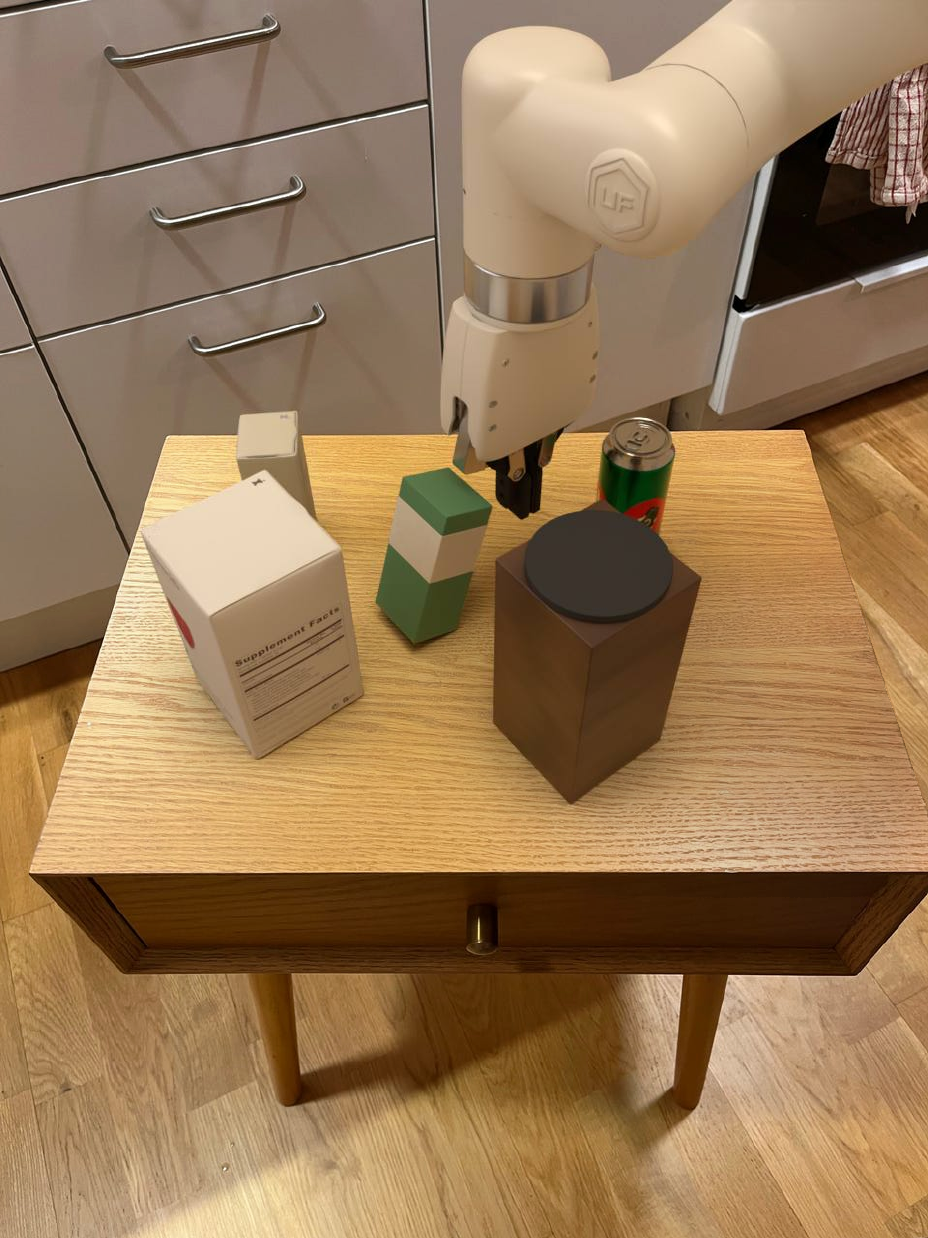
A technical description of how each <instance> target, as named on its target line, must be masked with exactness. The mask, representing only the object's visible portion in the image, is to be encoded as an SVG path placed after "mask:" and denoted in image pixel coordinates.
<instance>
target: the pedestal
mask: <svg viewBox="0 0 928 1238" xmlns="http://www.w3.org/2000/svg"><path fill="white" fill-rule="evenodd" d="M582 510H604V511H611V512H616V513H620V512H619V511H617V510H616V509H615V508H614V507H612V506H611V505H610V504H608V503H607V502H606V501H605V500H603V499H600V500H599V501H597V502H595V501H594V502H593V503H591V504H590V505H588V506H586V507H585V508H582V509H580V511H582ZM620 514H621V513H620ZM529 541H530V539H528V540H525V542H523V543H521V544H519V545H517V546H516V547H514V548H512V549H510V550H509V551H507V552H505V553H503V554H501V555H499V556H498V557H496V558H495V560H494V614H493V615H494V617H493V618H494V619H493V620H494V623H493V682H492V683H493V684H492V685H493V687H492V688H493V692H492V696H493V697H492V723H493V724H494V725H495V727H497V728H498V729H499V730H500V732H501V733H502V734H503V735H504V736H505V737H506V738H507V739H508V740H509V741H510V742H511V743H512V744H513V745H514V747H516V749H518V751H519V752H520V753H521V754H522V755H523V756H524V757H525V759H527V760H528V762H530V763H531V765H532V766H533V767H534V768H535V769H536V770H537V771H538V773H540V774H541V775H542V776H543V777H544V779H546V780H547V781H548V783H549V784H551V786H552V787H553V788H554V789H555V790H556V791H557V792H558V793H559V794H560V795H561V796H562V798H563V799H564V800H565V801H566V802H567V803H568V804H569V805H572V804H573V803H575V802H576V801H578V800H579V799H581V798H582V797H583V796H584V795H586V794H587V793H589V792H590V791H592V790H593V789H595V788H596V787H598V786H599V785H600V784H602V783H603V782H604V781H606V780H607V779H608V778H610V777H611V776H613V775H614V774H615V773H617V772H618V771H620V770H622V768H624V767H625V766H626V765H628V764H629V763H631V762H632V761H634V760H635V759H636V758H638V757H639V756H641V755H642V754H643V753H644V752H646V751H647V750H649V749H650V748H652V747H653V746H654V745H656V744H657V743H658V742H660V741H662V735H663V731H664V729H665V728H664V727H665V724H666V719H667V716H668V713H669V712H668V711H669V708H670V705H671V700H672V696H673V692H674V688H675V684H676V681H677V677H678V673H679V669H680V666H681V661H682V657H683V654H684V650H685V645H686V642H687V638H688V634H689V630H690V626H691V622H692V618H693V614H694V610H695V607H696V603H697V599H698V595H699V591H700V587H701V583H702V578H703V577H702V576H701V575H699V573H697V572H696V571H694V569H692V568H691V567H690V566H689V565H687V564H686V563H684V562H683V561H682V560H681V559H679V558H678V557H677V556H676V555H674V554H673V553H672V552H671V551H670V554H671V557H672V561H673V575H672V579H671V583H670V587H669V589H668V591H667V593H666V595H665V596H664V598H663V599H662V600H661V601H660V602H659V603H658V604H657V605H656V606H655V607H654V608H652V609H651V610H650V611H648V612H646V613H645V614H643V615H641V616H639V617H636V618H634V619H630V620H627V621H622V622H616V623H591V622H584V621H580V620H576V619H573V618H570V617H567V616H564V615H562V614H560V613H558V612H556V611H555V610H553V609H551V608H550V607H548V606H547V605H546V604H545V603H543V602H542V601H541V600H540V599H539V598H538V597H537V596H536V594H535V593H534V592H533V590H532V589H531V587H530V585H529V583H528V581H527V578H526V575H525V568H524V565H525V552H526V548H527V545H528V543H529Z"/></svg>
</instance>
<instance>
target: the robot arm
mask: <svg viewBox="0 0 928 1238" xmlns="http://www.w3.org/2000/svg"><path fill="white" fill-rule="evenodd" d="M926 64H928V0H731V1H730V2H729V3H727V4H726V5H725V6H723V7H722V8H721V9H719V10H718V11H717V12H716V13H715V14H714V15H712V16H711V17H710V18H709V19H708V20H706V21H705V22H704V23H703V24H701V25H700V26H699V27H697V28H696V29H695V30H693V31H692V32H691V33H689V35H687V36H686V37H685V38H683V39H682V40H681V41H680V42H678V43H677V44H675V45H674V46H673V47H671V48H669V49H668V50H666V52H664V53H663V54H662V55H660V56H658V58H656V59H655V60H654V61H652V62H651V63H650V64H649V65H647V66H646V67H645V68H643V69H642V70H641V71H639V72H637V73H633V74H631V75H628V76H626V77H622V78H619V79H616V80H612V72H611V71H612V70H611V65H610V62H609V59H608V56H607V54H606V53H605V51H604V49H603V48H602V47H601V46H600V45H599V44H598V43H597V42H596V41H595V40H594V39H592V38H591V37H589V36H587V35H585V34H584V33H580V32H579V31H574V30H571V29H567V28H563V27H557V26H549V25H525V26H517V27H511V28H506V29H503V30H499V31H496V32H493V33H491V34H488V35H487V36H485V37H483V38H482V39H481V40H480V41H478V42H477V43H476V44H475V45H474V46H473V47H472V49H471V50H470V51H469V53H468V55H467V57H466V59H465V62H464V65H463V69H462V74H461V153H462V155H461V156H462V157H461V158H462V160H461V164H462V235H463V237H462V239H463V241H462V243H463V248H462V249H463V251H462V252H463V257H462V258H463V295H461V296H460V297H458V298H456V299H455V300H454V301H453V302H452V304H451V305H452V306H451V308H450V313H449V316H448V321H447V326H446V332H445V338H444V343H443V351H442V362H441V375H440V376H441V377H440V395H439V397H440V399H439V400H440V401H439V402H440V403H439V404H440V405H439V407H440V409H439V413H440V426H441V429H442V431H443V432H444V433H445V434H446V435H447V436H448V437H449V436H451V435H454V434H457V436H456V441H455V447H454V451H453V455H452V456H453V457H452V465H453V466H454V467H456V469H458V470H459V471H460V472H461V473H462V474H463V475H465V476H467V475H471V474H475V473H478V472H479V473H480V472H483V471H485V470H486V469H488V468H490V469H491V470H493V471H494V472H495V479H494V480H495V485H494V487H495V489H494V494H495V500H496V501H497V503H498V504H499V505H500V506H501V507H502V508H504V509H505V510H508V511H510V512H511V513H512V514H513V515H514V516H515V517H516V518H518V519H519V520H521V521H523V520H525V519H527V518H528V517H529V515H531V514H532V515H535V514H537V513H538V512H539V511H541V502H542V491H543V490H542V487H543V476H544V475H543V474H544V473H543V472H544V470H543V469H544V468H545V467H546V466H548V465H549V464H550V463H551V461H552V458H553V454H554V449H555V444H556V443H557V441H558V440H559V439H560V437H561V436H562V434H563V433H564V431H565V429H567V428H568V427H569V426H571V425H572V424H573V423H575V422H576V421H577V420H579V419H580V418H581V417H582V416H584V415H586V413H587V412H588V411H589V410H590V409H591V406H592V405H593V401H594V397H595V393H596V388H597V382H598V381H597V380H598V371H599V359H600V358H599V357H600V356H599V355H600V321H599V320H600V319H599V318H600V317H599V306H598V298H597V290H596V287H595V284H594V282H593V275H594V273H593V272H594V263H595V253H596V252H597V251H599V250H600V249H601V247H602V246H603V247H605V248H607V249H609V250H611V251H612V252H613V251H614V252H616V253H619V254H621V255H624V256H627V257H631V258H635V259H648V260H649V259H650V260H651V259H658V258H663V257H667V256H669V255H672V254H674V253H675V252H678V251H680V250H682V249H683V248H684V247H686V246H688V245H689V244H690V243H692V241H694V239H696V238H697V237H698V236H699V235H700V234H701V233H702V232H703V231H704V230H705V229H706V228H707V227H708V226H709V225H710V223H712V221H713V220H714V219H716V217H717V216H718V215H719V214H720V213H721V212H722V211H723V210H724V209H725V207H726V206H727V205H728V204H730V202H731V201H732V200H733V199H734V198H735V197H736V195H738V193H739V192H740V191H741V190H742V189H743V187H745V186H746V185H747V184H748V182H750V180H751V179H752V178H753V177H754V176H755V175H757V174H758V172H759V171H761V170H762V168H764V167H765V166H766V164H768V163H769V162H770V161H771V160H772V159H773V158H775V157H776V156H777V155H779V154H780V153H781V152H783V151H784V150H786V149H787V148H789V147H790V146H791V145H793V144H794V143H795V142H797V141H799V140H800V139H801V138H803V137H804V136H806V135H807V134H809V133H811V132H812V131H814V130H816V128H818V127H820V126H821V125H822V124H824V123H825V122H827V121H829V120H830V119H831V118H833V117H835V116H837V115H838V114H839V113H841V112H842V111H844V110H845V109H847V108H848V107H850V106H851V105H853V104H855V103H856V102H858V101H860V100H861V99H862V98H864V97H866V96H867V95H869V94H870V93H872V92H874V91H876V90H877V89H879V88H880V87H883V86H884V85H885V84H888V83H889V82H891V81H893V80H894V79H896V78H898V77H900V76H901V75H902V76H903V75H904V74H906V73H908V72H910V71H912V70H914V69H916V68H918V67H921V66H923V65H926Z"/></svg>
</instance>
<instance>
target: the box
mask: <svg viewBox="0 0 928 1238" xmlns="http://www.w3.org/2000/svg"><path fill="white" fill-rule="evenodd" d="M236 436H237V437H236V449H235V460H236V463H237V468H238V471H239V475H240V479H241V481H243V480H245V479H247V478H249V477H251V476H253V475H255V474H257V473H259V472H261V471H263V470H266V471H268V472H269V473H270V474H271V475H272V476H273V477H274V478H275V479H276V480H277V481H278V482H279V484H280V485H281V486H282V487H283V488H284V489H285V490H286V491H287V492H288V493H289V494H290V495H291V496H292V497H293V498H294V499H295V500H296V501H298V502H299V503H300V504H301V505H302V506H303V507H304V508H305V509H306V510H307V512H308V513H309V515H310V516H311V517H312V518H313V519H314V520H315V521H316V522H317V523H318V521H317V520H318V519H317V513H316V507H315V502H314V496H313V490H312V485H311V478H310V473H309V466H308V462H307V457H306V456H307V455H306V451H305V445H304V439H303V434H302V430H301V423H300V420H299V414H298V411H297V410H289V411H275V412H274V411H273V412H258V413H247V414H246V413H245V414H240V415H239V420H238V427H237V435H236Z"/></svg>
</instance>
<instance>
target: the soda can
mask: <svg viewBox="0 0 928 1238" xmlns="http://www.w3.org/2000/svg"><path fill="white" fill-rule="evenodd" d="M600 451H601V452H600V461H599V468H598V476H597V485H596V491H595V492H596V493H595V500H594V503H595V502H597V501H599V500H600V499H603V500H605V501H606V502H607V503H608V504H610V505H611V506H612V507H614V508H615V509H616V510H617V511H619V512H620V513H621V514H624V515H627V516H630V517H632V518H634V519H637V520H639V521H640V522H642V523H644V524H646V525H647V526H648V527H650V528H651V529H653V530H654V531H655V532H656V533H657V534H658V535H659V536H660V534H661V528H662V525H663V524H662V523H663V518H664V513H665V509H666V508H665V507H666V503H667V498H668V493H669V488H670V482H671V479H672V478H671V477H672V474H673V473H672V472H673V468H674V462H675V457H676V447H675V445H674V443H673V437H672V433H671V432H670V430H669V428H668V427H666V425H664V424H663V423H661V422H659V421H657V420H654V419H652V418H647V417H640V416H639V417H638V416H637V417H636V416H635V417H628V418H624V419H621V420H619V421H617V422H616V423H614V424H613V425H612V427H611V428H610V430H609V432H608V434H607V435H606V436H605V437H604V439H603V441H602V444H601V450H600Z"/></svg>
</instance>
